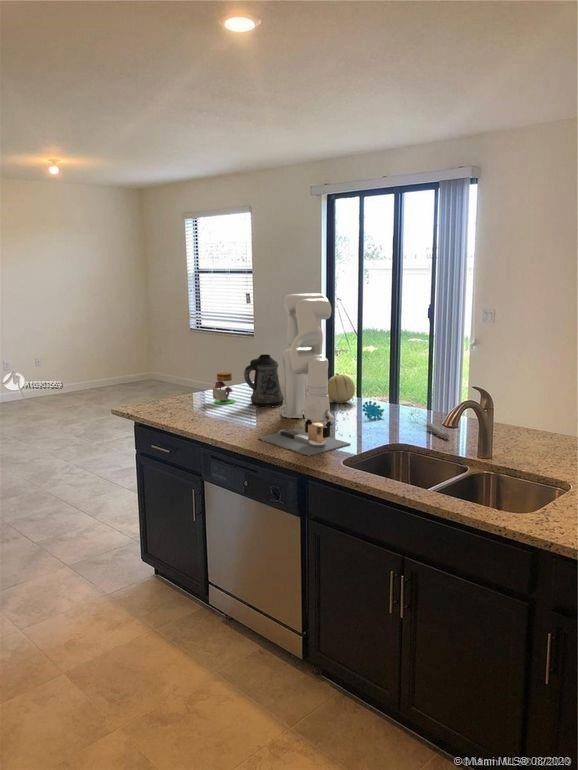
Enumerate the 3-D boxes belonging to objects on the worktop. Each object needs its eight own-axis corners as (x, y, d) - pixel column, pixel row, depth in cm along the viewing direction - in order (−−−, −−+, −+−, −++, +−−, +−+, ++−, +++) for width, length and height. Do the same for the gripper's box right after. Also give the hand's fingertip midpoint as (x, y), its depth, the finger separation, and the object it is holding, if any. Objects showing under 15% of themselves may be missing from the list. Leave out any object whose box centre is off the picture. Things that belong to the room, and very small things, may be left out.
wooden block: (308, 439, 229) (308, 424, 228) (317, 437, 232) (317, 422, 231) (317, 442, 225) (317, 427, 224) (326, 440, 228) (326, 424, 227)
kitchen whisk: (441, 442, 235) (442, 426, 234) (404, 421, 267) (405, 408, 266) (455, 441, 237) (456, 425, 236) (417, 421, 269) (418, 407, 268)
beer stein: (289, 403, 303) (289, 354, 298) (268, 410, 287) (267, 359, 282) (263, 399, 312) (262, 351, 307) (240, 406, 296) (239, 356, 291)
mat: (257, 439, 239) (257, 437, 239) (298, 429, 253) (298, 428, 253) (308, 456, 217) (308, 455, 217) (350, 444, 231) (350, 443, 231)
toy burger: (222, 398, 314) (221, 370, 311) (240, 401, 307) (240, 372, 304) (206, 402, 305) (206, 373, 302) (225, 405, 298) (224, 376, 295)
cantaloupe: (346, 407, 293) (347, 377, 290) (320, 404, 301) (320, 374, 298) (359, 401, 306) (360, 372, 303) (334, 398, 313) (334, 370, 310)
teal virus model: (366, 418, 266) (361, 399, 271) (360, 424, 270) (356, 406, 276) (387, 419, 270) (382, 400, 275) (382, 426, 274) (377, 407, 280)
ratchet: (275, 435, 243) (275, 420, 241) (287, 432, 247) (287, 418, 246) (317, 448, 225) (317, 433, 223) (329, 445, 229) (329, 430, 228)
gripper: (295, 388, 229) (295, 431, 232) (326, 395, 216) (326, 441, 219) (309, 386, 234) (309, 428, 237) (341, 392, 221) (340, 437, 224)
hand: (317, 434), depth 228 cm, fingers open, 9 cm apart
